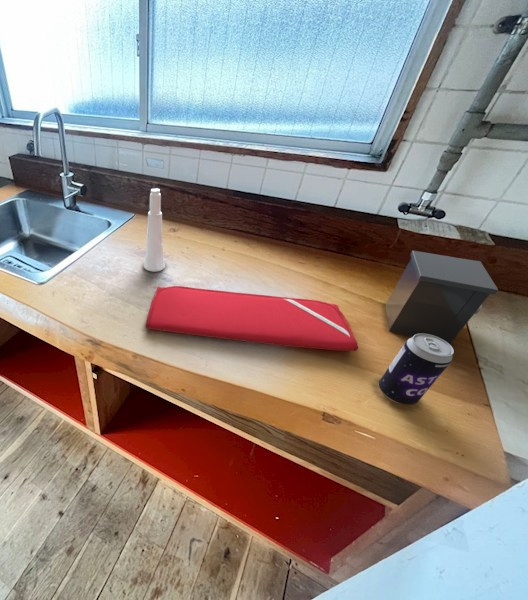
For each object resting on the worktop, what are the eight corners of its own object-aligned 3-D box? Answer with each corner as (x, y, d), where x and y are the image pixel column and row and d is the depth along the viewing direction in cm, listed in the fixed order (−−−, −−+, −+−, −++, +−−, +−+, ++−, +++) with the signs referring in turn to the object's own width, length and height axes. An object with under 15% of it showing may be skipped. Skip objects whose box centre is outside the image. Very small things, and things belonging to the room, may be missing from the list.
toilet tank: (441, 316, 71) (480, 261, 62) (452, 347, 63) (498, 290, 55) (382, 303, 75) (412, 250, 67) (386, 331, 68) (420, 275, 59)
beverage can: (382, 403, 54) (418, 354, 47) (372, 377, 58) (403, 328, 51) (421, 411, 53) (465, 361, 45) (409, 384, 57) (446, 335, 50)
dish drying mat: (157, 290, 82) (157, 278, 80) (333, 310, 74) (338, 297, 72) (145, 331, 70) (145, 318, 68) (353, 360, 62) (361, 346, 59)
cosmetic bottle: (139, 265, 93) (138, 189, 80) (156, 259, 96) (157, 184, 82) (152, 274, 89) (152, 195, 76) (169, 267, 92) (172, 190, 78)
